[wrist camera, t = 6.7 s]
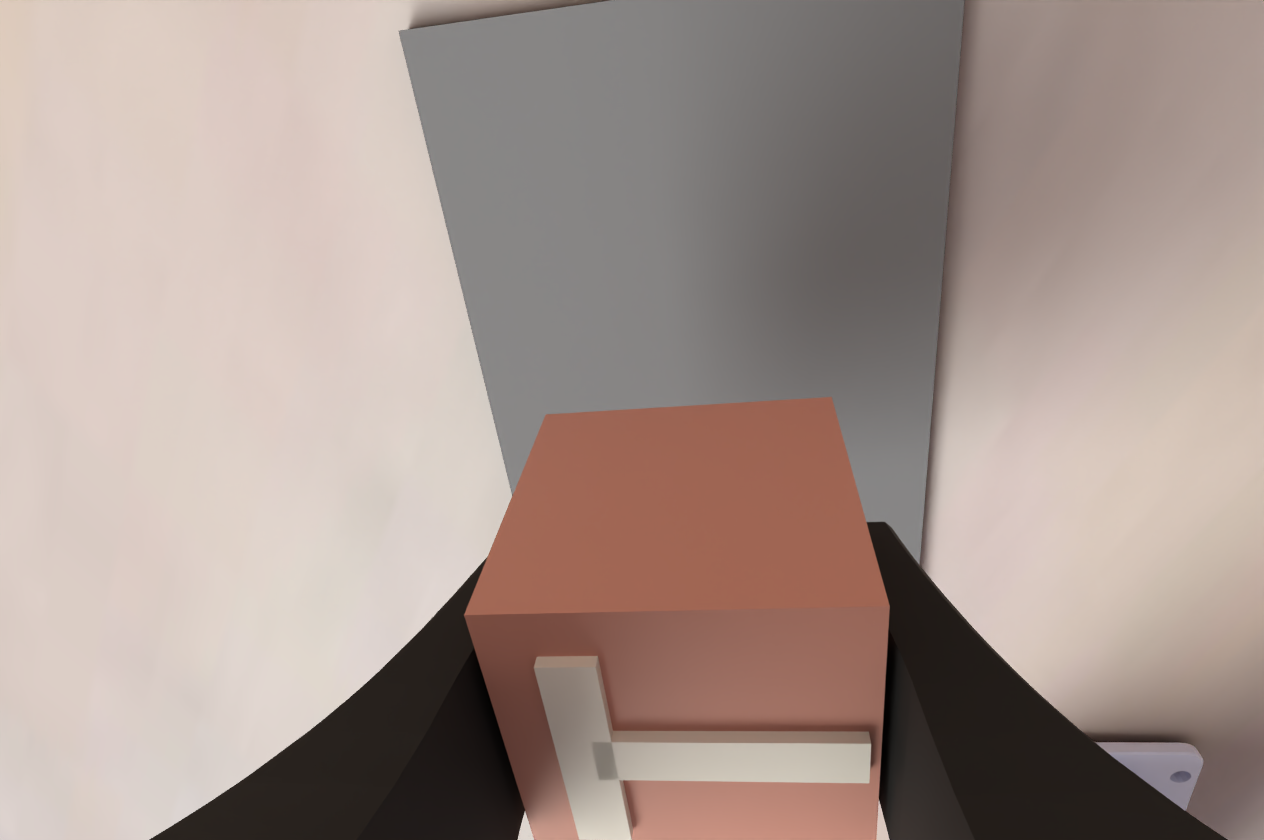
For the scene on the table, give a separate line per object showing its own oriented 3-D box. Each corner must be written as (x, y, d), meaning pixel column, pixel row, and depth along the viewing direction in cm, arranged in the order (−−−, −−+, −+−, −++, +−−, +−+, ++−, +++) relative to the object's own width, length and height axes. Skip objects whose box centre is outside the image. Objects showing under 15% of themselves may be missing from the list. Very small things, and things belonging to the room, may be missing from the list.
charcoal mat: (909, 636, 20) (913, 647, 20) (553, 641, 22) (550, 652, 22) (961, -50, 13) (968, -51, 12) (406, 29, 14) (398, 30, 14)
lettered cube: (830, 615, 14) (876, 877, 10) (587, 619, 14) (537, 867, 10) (831, 397, 11) (893, 618, 7) (545, 414, 12) (459, 625, 8)
